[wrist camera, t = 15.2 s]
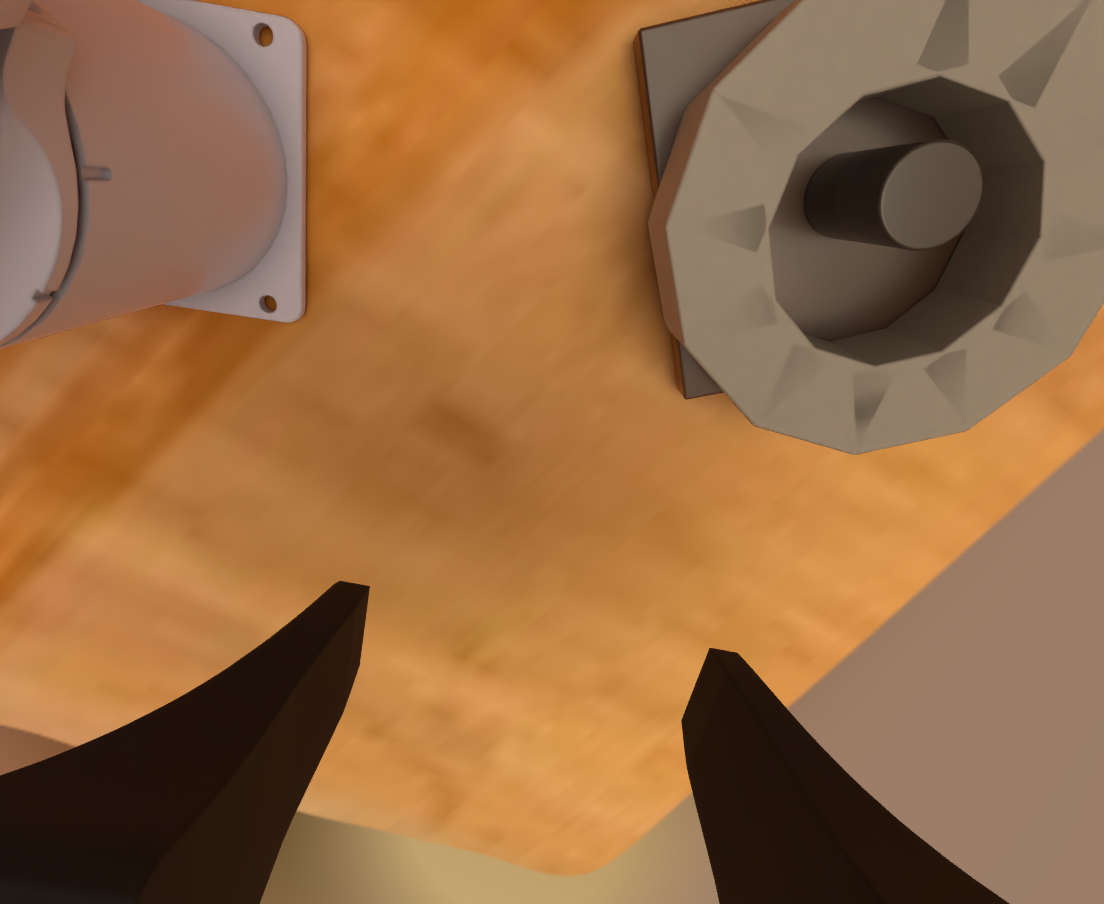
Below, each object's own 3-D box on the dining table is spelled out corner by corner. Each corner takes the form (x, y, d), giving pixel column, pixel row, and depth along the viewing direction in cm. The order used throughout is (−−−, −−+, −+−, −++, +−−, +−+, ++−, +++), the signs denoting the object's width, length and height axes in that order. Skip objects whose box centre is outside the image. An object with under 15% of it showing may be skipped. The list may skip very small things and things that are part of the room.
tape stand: (677, 389, 21) (718, 453, 16) (632, 39, 17) (667, -29, 12) (991, 330, 20) (1143, 376, 15) (1016, -50, 16) (1231, -164, 11)
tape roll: (572, 219, 17) (576, 224, 15) (918, -127, 15) (1004, -203, 12) (801, 479, 20) (839, 524, 18) (1124, 235, 18) (1232, 242, 15)
